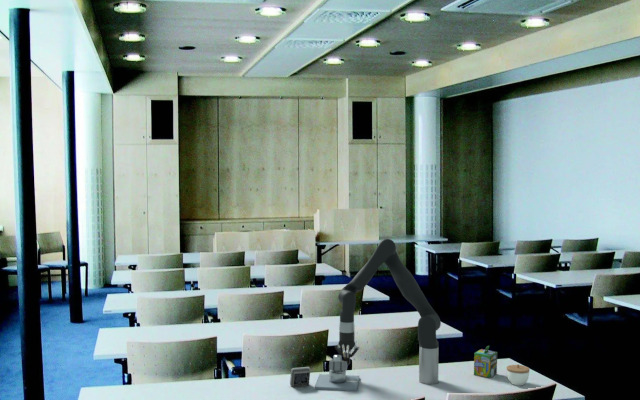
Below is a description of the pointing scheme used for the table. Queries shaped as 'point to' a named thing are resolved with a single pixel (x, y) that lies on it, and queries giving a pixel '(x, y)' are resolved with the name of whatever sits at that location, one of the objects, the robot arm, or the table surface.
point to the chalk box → (485, 363)
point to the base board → (349, 385)
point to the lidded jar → (517, 374)
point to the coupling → (337, 365)
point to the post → (337, 373)
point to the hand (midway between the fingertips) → (346, 364)
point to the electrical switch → (300, 377)
